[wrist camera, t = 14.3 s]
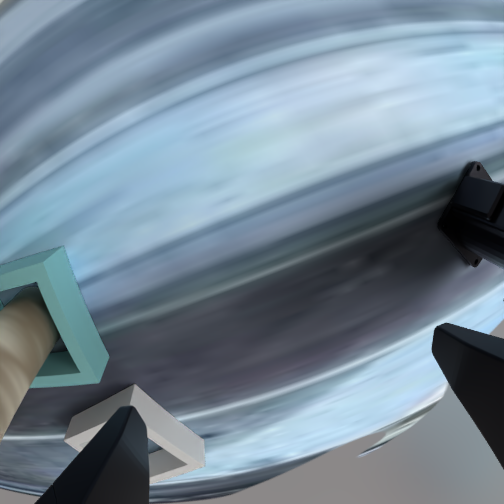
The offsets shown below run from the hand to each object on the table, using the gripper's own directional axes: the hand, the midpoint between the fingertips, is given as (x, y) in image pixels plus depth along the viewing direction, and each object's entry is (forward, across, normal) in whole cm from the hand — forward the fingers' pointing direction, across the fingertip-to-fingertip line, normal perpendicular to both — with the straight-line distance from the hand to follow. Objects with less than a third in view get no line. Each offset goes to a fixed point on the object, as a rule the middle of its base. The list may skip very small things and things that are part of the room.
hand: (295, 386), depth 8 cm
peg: (+12, +16, +1) cm, 20 cm away
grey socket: (+12, +13, +14) cm, 22 cm away
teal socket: (+12, +16, +1) cm, 20 cm away
